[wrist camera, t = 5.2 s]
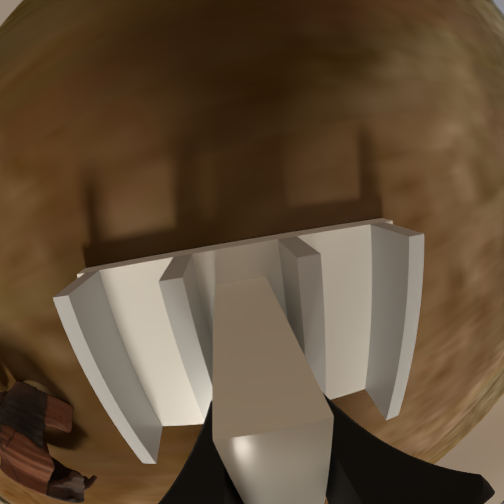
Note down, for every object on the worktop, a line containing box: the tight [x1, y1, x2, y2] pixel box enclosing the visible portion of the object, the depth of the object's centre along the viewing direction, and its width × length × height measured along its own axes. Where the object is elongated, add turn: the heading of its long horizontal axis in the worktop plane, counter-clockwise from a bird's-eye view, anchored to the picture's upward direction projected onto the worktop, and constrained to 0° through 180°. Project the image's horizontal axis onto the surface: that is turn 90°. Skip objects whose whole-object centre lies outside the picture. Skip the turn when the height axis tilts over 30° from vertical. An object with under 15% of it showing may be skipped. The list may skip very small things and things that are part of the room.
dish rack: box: [53, 218, 424, 464], centre depth 12 cm, size 10×15×4 cm, turn 98°
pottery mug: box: [0, 381, 97, 503], centre depth 12 cm, size 12×10×8 cm
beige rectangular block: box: [212, 277, 334, 504], centre depth 9 cm, size 7×2×8 cm, turn 8°
